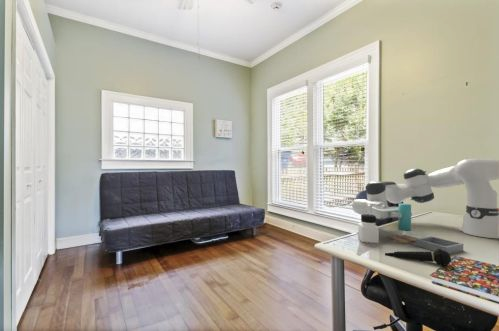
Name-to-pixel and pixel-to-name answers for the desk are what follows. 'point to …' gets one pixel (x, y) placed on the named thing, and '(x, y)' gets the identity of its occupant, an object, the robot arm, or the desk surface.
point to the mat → (403, 239)
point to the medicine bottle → (368, 229)
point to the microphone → (425, 256)
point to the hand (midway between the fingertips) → (406, 215)
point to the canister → (404, 217)
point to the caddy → (439, 244)
